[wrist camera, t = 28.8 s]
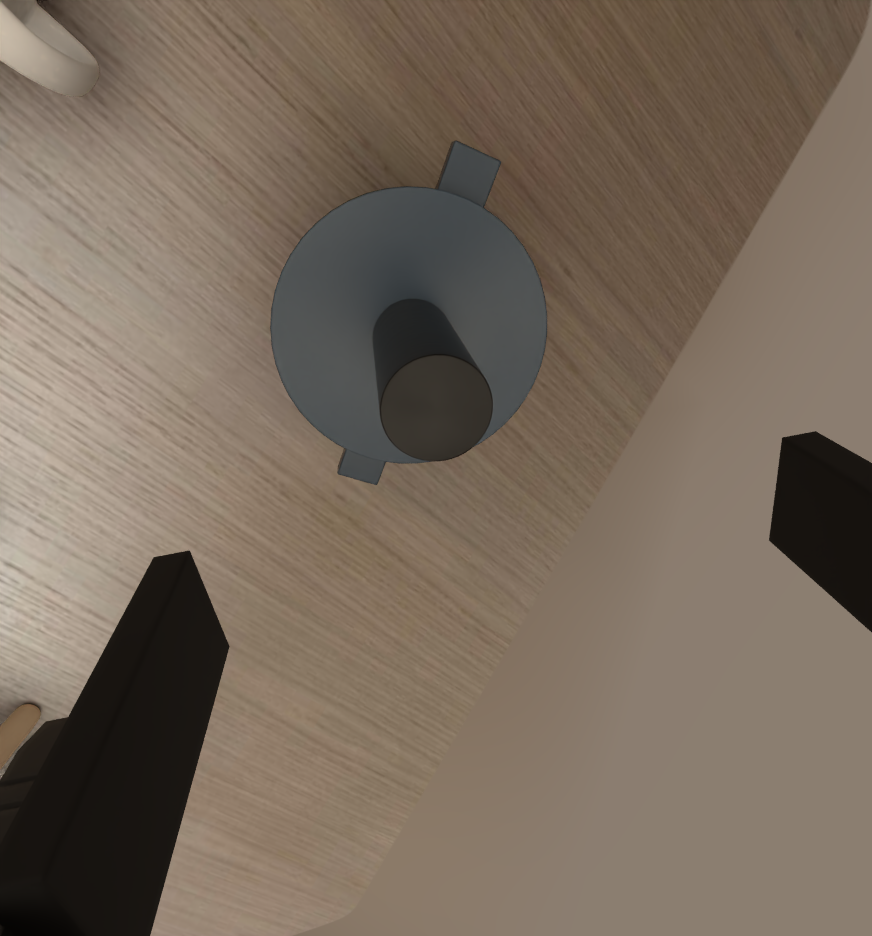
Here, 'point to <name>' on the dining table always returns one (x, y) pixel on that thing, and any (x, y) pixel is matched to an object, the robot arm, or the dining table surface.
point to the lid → (408, 325)
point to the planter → (16, 730)
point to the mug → (44, 49)
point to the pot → (465, 178)
